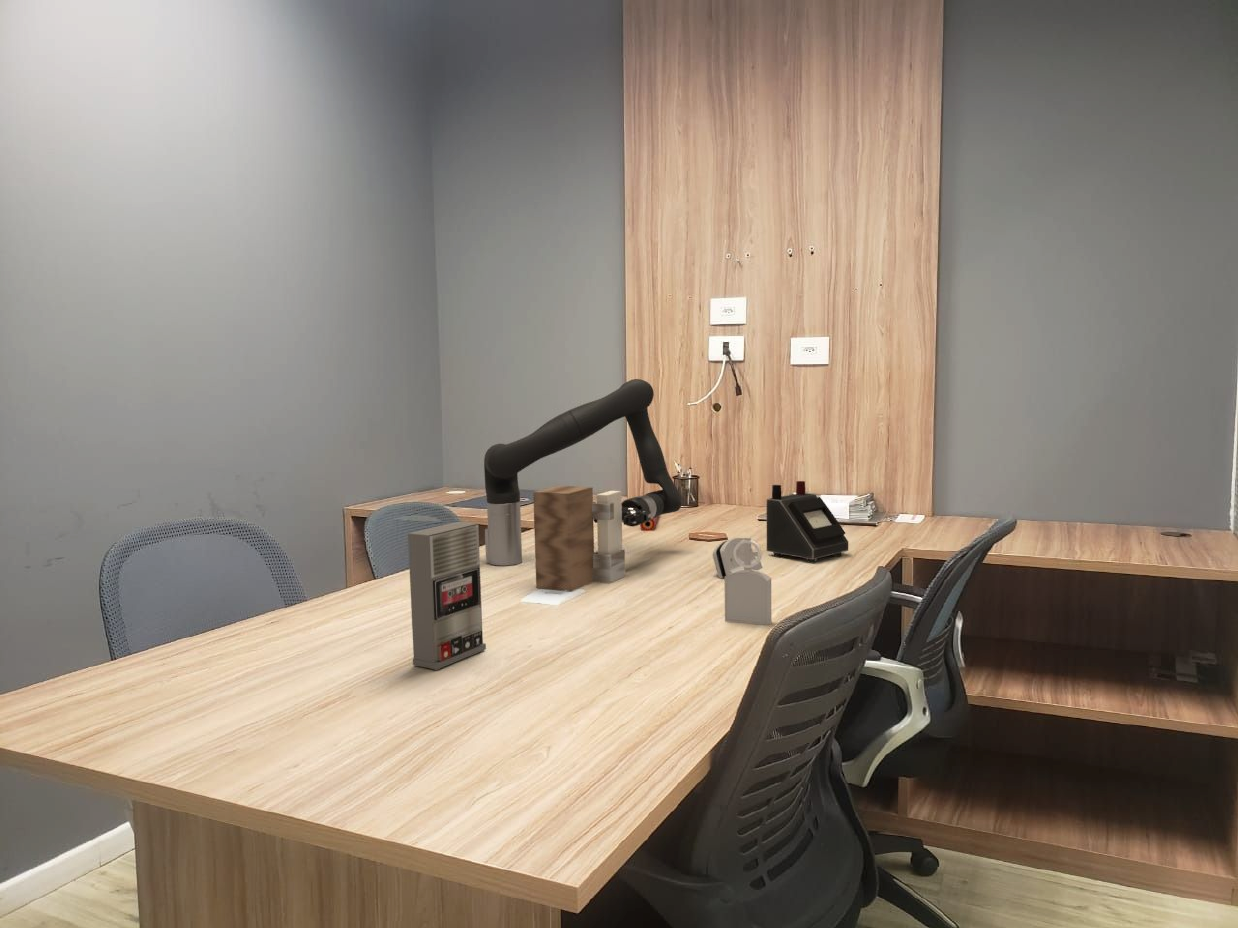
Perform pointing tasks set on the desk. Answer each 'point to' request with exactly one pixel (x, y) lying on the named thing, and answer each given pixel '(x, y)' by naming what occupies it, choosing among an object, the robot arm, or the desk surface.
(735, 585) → the gravestone
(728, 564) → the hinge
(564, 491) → the cabinet
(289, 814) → the desk surface
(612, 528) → the beige rectangular block
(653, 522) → the blood vessel
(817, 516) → the voltmeter
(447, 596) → the cassette tape recorder
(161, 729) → the desk surface
